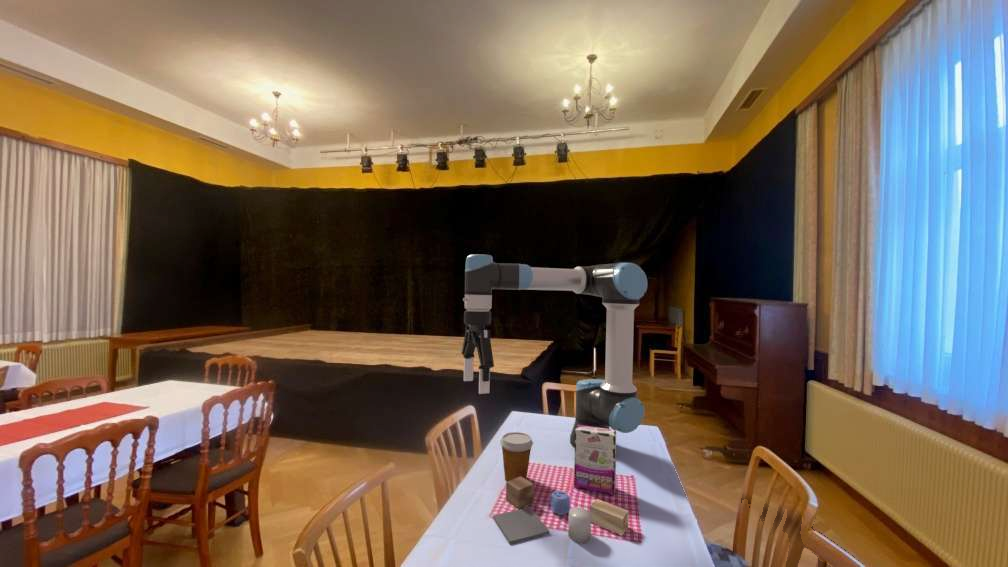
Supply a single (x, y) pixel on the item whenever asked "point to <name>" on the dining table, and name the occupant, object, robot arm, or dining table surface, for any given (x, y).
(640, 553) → the dining table surface
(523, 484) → the walnut cube
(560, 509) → the decorative dice
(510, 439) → the disposable coffee cup
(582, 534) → the grey plastic cylinder
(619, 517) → the maple bar
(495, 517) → the slate coaster
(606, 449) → the candy bar box
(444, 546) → the dining table surface
